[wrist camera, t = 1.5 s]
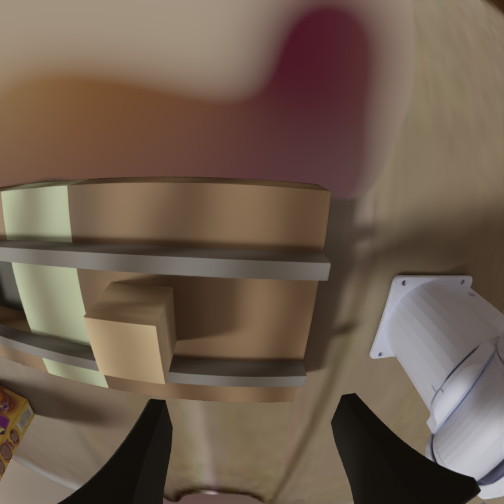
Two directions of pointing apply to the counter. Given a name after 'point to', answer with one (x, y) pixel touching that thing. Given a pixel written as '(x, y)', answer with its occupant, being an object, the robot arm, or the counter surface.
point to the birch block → (133, 331)
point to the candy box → (12, 424)
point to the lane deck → (168, 277)
